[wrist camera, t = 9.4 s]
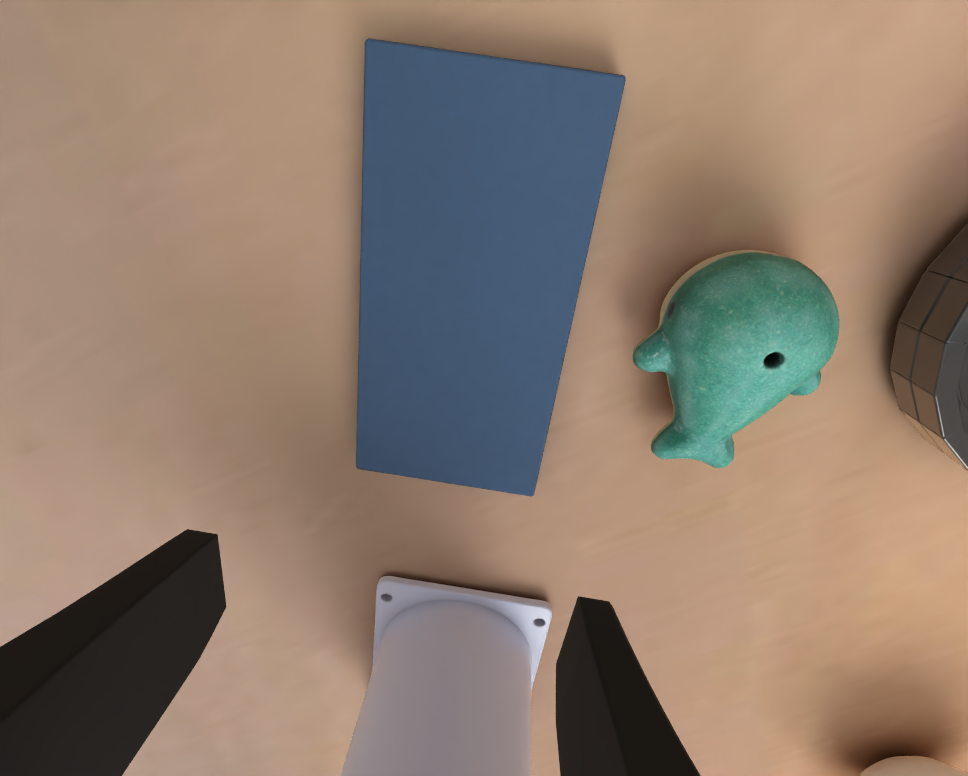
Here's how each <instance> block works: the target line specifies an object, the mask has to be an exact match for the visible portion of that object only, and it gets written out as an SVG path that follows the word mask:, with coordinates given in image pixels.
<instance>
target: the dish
mask: <svg viewBox="0 0 968 776" xmlns="http://www.w3.org/2000/svg"><path fill="white" fill-rule="evenodd" d="M927 270H928V271H925V272H924V273H923V275H922V277H921V279H920V281H919V283H918V284H917V286H916V288H915V290H914V292H913V294H912V296H911V298H910V300H909V302H908V303H907V305H906V307H905V309H904V311H903V313H902V315H901V317H900V319H899V321H900V322H898V324H897V330H896V336H895V341H894V347H893V353H892V359H891V364H890V368H891V369H890V371H891V376H892V380H893V384H894V389H895V393H896V397H897V402H898V406H899V409H900V410H901V412H902V413H903V414H904V415H905V416H906V418H907V419H908V420H909V421H910V423H911V424H912V425H913V426H914V428H915V429H916V430H917V431H918V433H919V434H920V435H921V436H922V437H923V438H924V439H925V440H927V441H928V442H929V443H931V444H932V445H933V446H935V447H936V448H937V449H939V450H940V451H942V452H943V453H944V454H946V455H947V456H949V457H950V458H951V459H953V460H954V461H955V462H957V463H958V464H959V465H961V466H962V467H964V468H965V469H966V470H968V223H967V224H966V225H965V226H964V227H963V229H962V230H961V231H960V232H959V233H958V234H957V235H956V236H955V237H954V239H953V240H952V241H951V242H950V243H949V244H948V245H947V246H946V247H945V249H944V250H943V251H942V252H941V253H940V254H939V255H938V256H937V257H936V259H935V260H934V261H933V262H932V263H931V264H930V265H929V266H928V268H927Z"/></svg>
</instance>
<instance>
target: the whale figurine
mask: <svg viewBox="0 0 968 776" xmlns="http://www.w3.org/2000/svg"><path fill="white" fill-rule="evenodd" d="M838 332H839V315H838V310H837V306H836V303H835V300H834V298H833V296H832V294H831V292H830V290H829V289H828V287H827V286H826V284H825V283H824V282H823V281H822V279H821V278H820V277H819V276H818V275H817V274H815V273H814V272H813V271H812V270H811V269H809V268H808V267H806V266H805V265H803V264H802V263H800V262H798V261H796V260H793V259H790V258H787V257H785V256H782V255H779V254H775V253H771V252H766V251H759V250H738V251H731V252H726V253H722V254H719V255H716V256H713V257H711V258H708V259H706V260H704V261H702V262H700V263H699V264H697V265H695V266H694V267H692V268H691V269H690V270H688V271H687V272H686V273H685V274H684V275H683V276H681V277H680V278H679V279H678V281H677V282H676V283H675V284H674V285H673V286H672V288H671V289H670V291H669V292H668V294H667V295H666V297H665V299H664V301H663V304H662V306H661V310H660V321H659V326H658V327H657V329H656V330H655V331H654V332H653V333H651V334H650V335H649V336H648V337H646V338H645V339H644V340H642V341H641V342H640V343H639V344H638V345H637V346H636V347H635V349H634V351H633V362H634V364H635V365H636V366H637V367H638V368H640V369H641V370H644V371H647V372H658V371H662V372H665V373H666V374H667V380H668V386H669V390H670V394H671V399H672V402H673V407H674V415H673V418H672V420H671V421H670V422H669V423H668V424H667V425H665V426H664V427H663V428H662V429H661V430H660V431H659V432H658V433H657V434H656V435H655V436H654V438H653V440H652V442H651V450H652V452H653V453H654V454H655V455H656V456H657V457H659V458H662V459H677V458H684V459H695V460H699V461H702V462H704V463H707V464H709V465H711V466H712V467H715V468H722V467H726V466H727V465H729V464H730V463H731V462H732V460H733V458H734V442H733V439H732V434H734V433H735V432H737V431H739V430H740V429H742V428H744V427H745V426H747V425H748V424H750V423H752V422H753V421H755V420H756V419H758V418H759V417H760V416H762V415H763V414H765V413H766V412H767V411H769V410H770V409H771V408H773V407H774V406H775V405H777V404H778V403H779V402H780V401H782V400H783V399H784V398H785V397H787V396H788V395H789V394H792V395H808V394H810V393H812V392H814V391H815V390H816V389H817V388H818V386H819V384H820V380H821V373H820V370H821V369H822V368H823V366H824V365H825V364H826V363H827V362H828V360H829V359H830V358H831V356H832V354H833V352H834V349H835V346H836V343H837V339H838Z"/></svg>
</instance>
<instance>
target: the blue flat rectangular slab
mask: <svg viewBox="0 0 968 776" xmlns="http://www.w3.org/2000/svg"><path fill="white" fill-rule="evenodd" d="M624 84H625V76H623V75H618V74H611V73H604V72H597V71H591V70H584V69H577V68H570V67H563V66H556V65H549V64H542V63H535V62H528V61H521V60H515V59H508V58H501V57H494V56H487V55H480V54H473V53H466V52H459V51H452V50H445V49H438V48H432V47H425V46H418V45H411V44H404V43H397V42H390V41H383V40H376V39H366V41H365V69H364V117H363V165H362V213H361V260H360V308H359V356H358V404H357V451H356V467H357V469H362V470H368V471H375V472H381V473H387V474H394V475H400V476H406V477H413V478H419V479H425V480H432V481H438V482H444V483H450V484H457V485H463V486H469V487H476V488H482V489H488V490H495V491H501V492H507V493H514V494H520V495H526V496H533V495H534V492H535V487H536V483H537V478H538V474H539V469H540V464H541V460H542V455H543V451H544V446H545V442H546V437H547V433H548V428H549V424H550V419H551V415H552V410H553V406H554V401H555V397H556V392H557V388H558V383H559V379H560V374H561V369H562V365H563V360H564V356H565V351H566V347H567V342H568V338H569V333H570V329H571V324H572V320H573V315H574V311H575V306H576V302H577V297H578V293H579V288H580V284H581V279H582V274H583V270H584V265H585V261H586V256H587V252H588V247H589V243H590V238H591V234H592V229H593V225H594V220H595V216H596V211H597V207H598V202H599V198H600V193H601V189H602V184H603V179H604V175H605V170H606V166H607V161H608V157H609V152H610V148H611V143H612V139H613V134H614V130H615V125H616V121H617V116H618V112H619V107H620V103H621V98H622V94H623V89H624Z"/></svg>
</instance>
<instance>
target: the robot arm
mask: <svg viewBox="0 0 968 776" xmlns="http://www.w3.org/2000/svg"><path fill="white" fill-rule="evenodd" d="M388 594H390V595H388ZM225 608H226V600H225V592H224V584H223V576H222V568H221V559H220V551H219V543H218V535H217V534H212V533H206V532H200V531H194V530H189V529H187V530H185V531H184V532H182V533H181V534H179V535H178V536H176V537H174V538H173V539H171V540H170V541H168V542H167V543H165V544H164V545H162V546H160V547H159V548H157V549H156V550H154V551H153V552H151V553H150V554H148V555H147V556H145V557H144V558H142V559H141V560H139V561H138V562H136V563H134V564H133V565H131V566H130V567H128V568H127V569H125V570H124V571H122V572H121V573H119V574H118V575H116V576H115V577H113V578H111V579H110V580H108V581H107V582H105V583H104V584H102V585H101V586H99V587H98V588H96V589H94V590H93V591H91V592H90V593H88V594H86V595H85V596H83V597H82V598H80V599H79V600H77V601H75V602H74V603H72V604H71V605H69V606H68V607H66V608H64V609H63V610H61V611H60V612H58V613H57V614H55V615H53V616H52V617H50V618H48V619H46V620H45V621H43V622H41V623H40V624H38V625H36V626H35V627H33V628H31V629H30V630H28V631H26V632H25V633H23V634H21V635H20V636H18V637H16V638H15V639H13V640H11V641H10V642H8V643H6V644H4V645H3V646H1V647H0V776H122V775H123V773H124V772H125V770H126V769H127V767H128V766H129V764H130V763H131V761H132V760H133V758H134V757H135V755H136V754H137V752H138V751H139V749H140V748H141V746H142V745H143V743H144V742H145V740H146V739H147V737H148V736H149V734H150V733H151V731H152V730H153V728H154V727H155V725H156V724H157V722H158V721H159V719H160V718H161V716H162V715H163V713H164V712H165V710H166V709H167V707H168V706H169V704H170V703H171V701H172V700H173V698H174V697H175V695H176V694H177V692H178V691H179V689H180V688H181V686H182V685H183V683H184V682H185V680H186V679H187V677H188V676H189V674H190V672H191V671H192V669H193V668H194V666H195V665H196V663H197V662H198V660H199V658H200V657H201V655H202V653H203V651H204V649H205V647H206V645H207V643H208V642H209V640H210V638H211V636H212V634H213V632H214V630H215V628H216V626H217V624H218V622H219V620H220V618H221V616H222V614H223V612H224V610H225ZM539 618H540V619H539ZM551 618H552V606H551V605H550V604H549V603H548V602H546V601H542V600H536V599H530V598H524V597H517V596H511V595H505V594H499V593H493V592H486V591H480V590H474V589H468V588H462V587H456V586H449V585H443V584H437V583H431V582H425V581H418V580H412V579H406V578H400V577H394V576H383V577H381V578H380V579H379V582H378V585H377V589H376V609H375V629H374V649H373V669H372V673H371V677H370V680H369V683H368V687H367V690H366V693H365V697H364V700H363V703H362V707H361V710H360V713H359V716H358V720H357V723H356V726H355V730H354V733H353V736H352V740H351V743H350V746H349V750H348V753H347V756H346V760H345V763H344V766H343V770H342V773H341V776H532V761H531V690H532V686H533V683H534V679H535V676H536V672H537V669H538V665H539V661H540V658H541V654H542V651H543V647H544V643H545V640H546V636H547V633H548V629H549V626H550V622H551ZM556 729H557V740H558V751H559V762H560V773H561V776H700V774H699V772H698V771H697V769H696V767H695V766H694V764H693V762H692V760H691V759H690V757H689V755H688V754H687V752H686V750H685V748H684V747H683V745H682V743H681V741H680V739H679V738H678V736H677V734H676V732H675V731H674V729H673V727H672V725H671V723H670V721H669V719H668V718H667V716H666V714H665V712H664V710H663V708H662V706H661V705H660V703H659V701H658V699H657V697H656V695H655V693H654V691H653V689H652V688H651V686H650V684H649V682H648V680H647V678H646V676H645V674H644V672H643V670H642V668H641V666H640V664H639V662H638V660H637V658H636V656H635V654H634V651H633V649H632V647H631V645H630V643H629V641H628V639H627V637H626V635H625V632H624V630H623V628H622V626H621V624H620V622H619V619H618V617H617V615H616V613H615V611H614V608H613V606H612V605H611V604H610V602H608V601H602V600H597V599H591V598H585V597H579V596H578V598H577V601H576V605H575V608H574V611H573V614H572V617H571V620H570V623H569V626H568V629H567V632H566V635H565V638H564V641H563V645H562V648H561V651H560V654H559V657H558V660H557V663H556Z"/></svg>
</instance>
